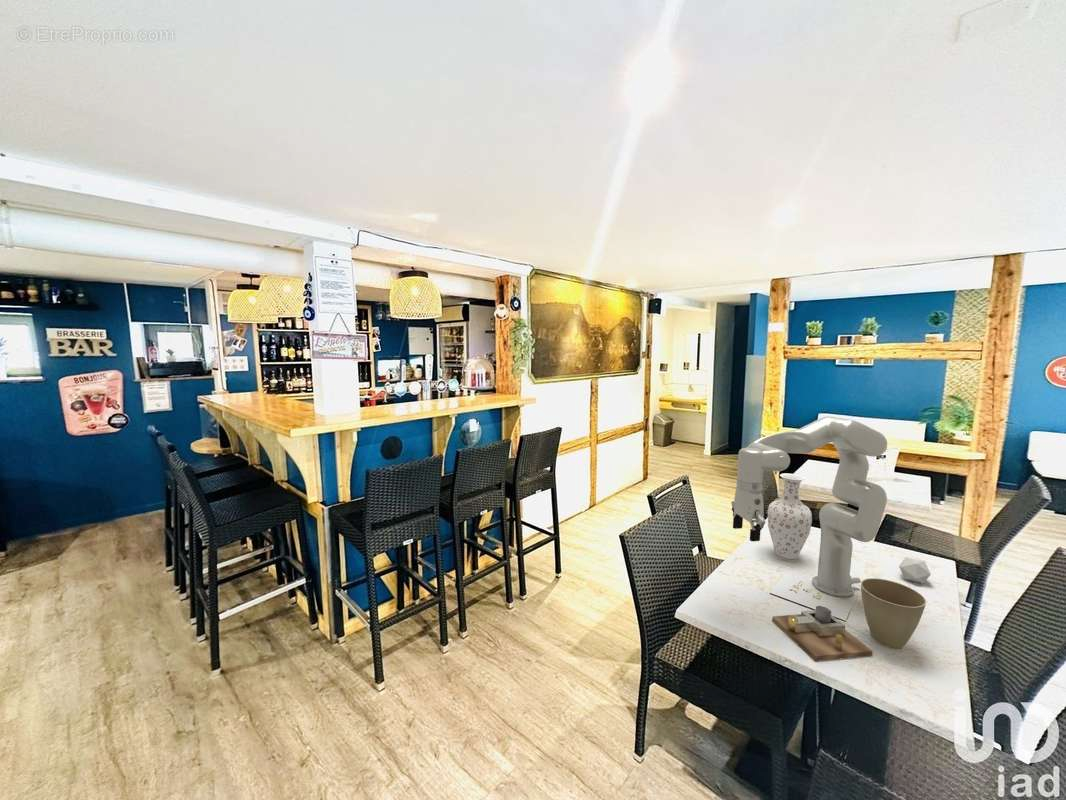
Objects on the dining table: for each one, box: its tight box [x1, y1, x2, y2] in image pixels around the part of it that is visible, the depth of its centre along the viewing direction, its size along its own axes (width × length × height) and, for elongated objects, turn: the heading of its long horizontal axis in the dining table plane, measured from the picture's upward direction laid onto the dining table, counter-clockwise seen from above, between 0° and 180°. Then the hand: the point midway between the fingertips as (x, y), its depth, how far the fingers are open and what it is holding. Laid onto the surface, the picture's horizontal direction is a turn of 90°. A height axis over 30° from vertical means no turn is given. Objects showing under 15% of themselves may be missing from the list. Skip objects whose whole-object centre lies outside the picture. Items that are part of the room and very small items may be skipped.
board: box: [771, 605, 874, 662], centre depth 129 cm, size 18×18×8 cm
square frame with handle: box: [788, 609, 846, 637], centre depth 131 cm, size 15×8×4 cm, turn 97°
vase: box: [767, 472, 813, 562], centre depth 178 cm, size 16×16×35 cm
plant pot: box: [860, 577, 927, 650], centre depth 127 cm, size 15×15×16 cm
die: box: [898, 556, 931, 584], centre depth 161 cm, size 8×9×10 cm
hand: (745, 534), depth 142 cm, fingers open, 9 cm apart
